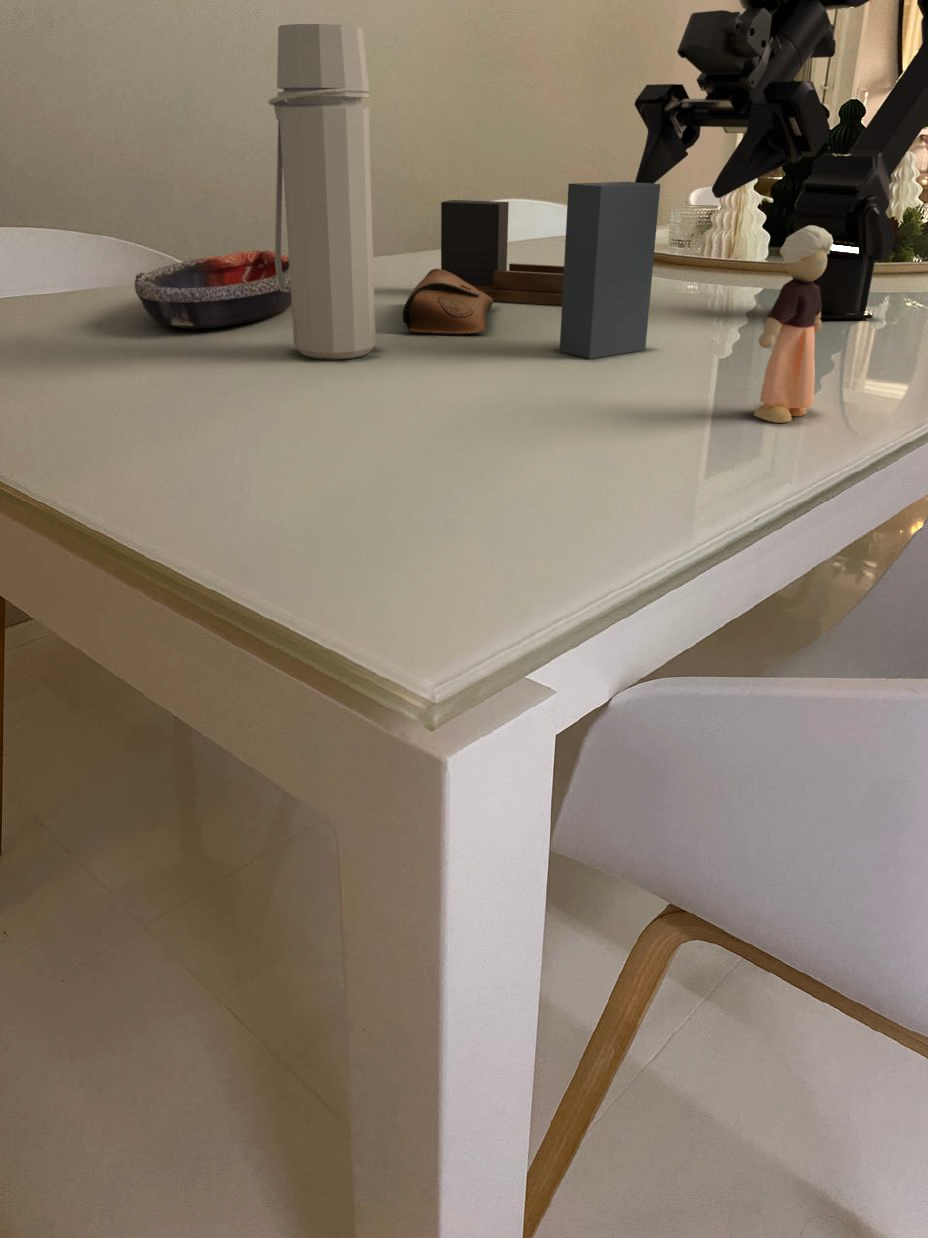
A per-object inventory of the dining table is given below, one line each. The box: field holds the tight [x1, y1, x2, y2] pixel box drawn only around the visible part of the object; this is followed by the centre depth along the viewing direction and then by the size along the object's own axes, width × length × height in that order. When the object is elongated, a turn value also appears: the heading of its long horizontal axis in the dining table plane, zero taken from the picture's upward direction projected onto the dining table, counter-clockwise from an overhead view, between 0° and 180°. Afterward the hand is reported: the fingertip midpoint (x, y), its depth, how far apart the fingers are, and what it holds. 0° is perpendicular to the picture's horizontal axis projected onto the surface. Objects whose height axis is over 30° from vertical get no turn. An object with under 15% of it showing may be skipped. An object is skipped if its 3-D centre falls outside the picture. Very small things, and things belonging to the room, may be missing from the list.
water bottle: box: [267, 23, 376, 361], centre depth 84 cm, size 9×8×25 cm
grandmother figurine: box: [753, 226, 834, 424], centre depth 70 cm, size 8×4×13 cm, turn 148°
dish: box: [134, 250, 292, 329], centre depth 107 cm, size 16×31×5 cm, turn 171°
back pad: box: [559, 181, 661, 360], centre depth 89 cm, size 7×4×14 cm, turn 127°
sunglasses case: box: [402, 268, 494, 336], centre depth 105 cm, size 18×7×7 cm, turn 177°
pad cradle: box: [440, 199, 564, 307], centre depth 118 cm, size 18×10×10 cm, turn 72°
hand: (675, 190), depth 90 cm, fingers open, 9 cm apart
